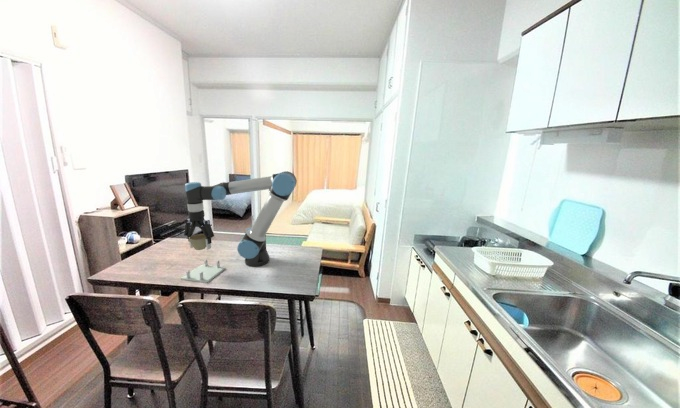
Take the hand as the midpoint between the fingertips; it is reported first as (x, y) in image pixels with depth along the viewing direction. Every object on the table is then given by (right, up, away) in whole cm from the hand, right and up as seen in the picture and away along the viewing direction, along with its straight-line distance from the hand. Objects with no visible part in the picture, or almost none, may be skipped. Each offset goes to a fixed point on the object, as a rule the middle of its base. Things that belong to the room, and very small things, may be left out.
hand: (200, 248), depth 135 cm
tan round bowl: (0, 0, 0) cm, 0 cm away
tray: (+1, -15, +2) cm, 15 cm away
